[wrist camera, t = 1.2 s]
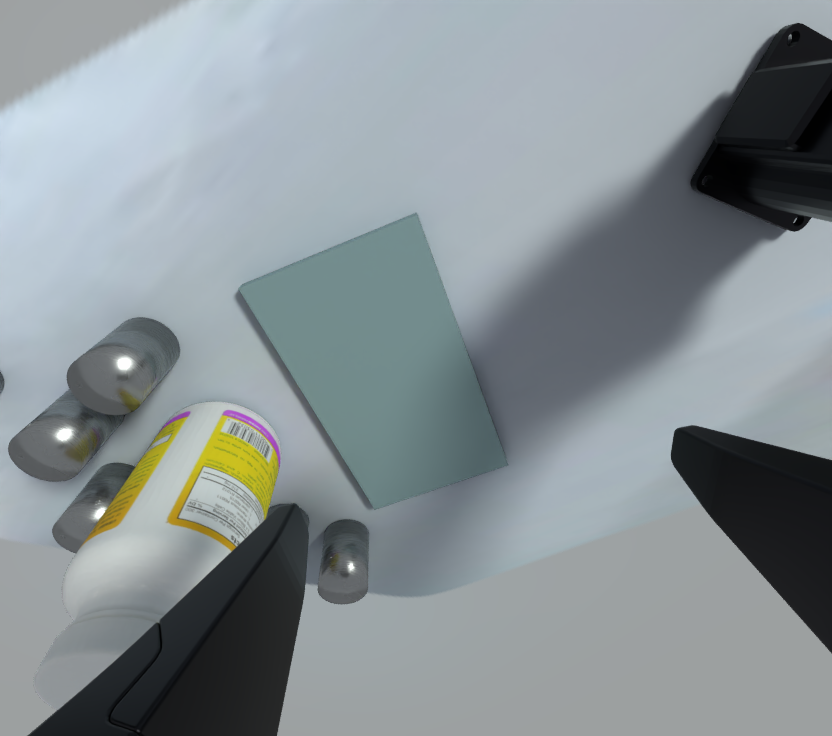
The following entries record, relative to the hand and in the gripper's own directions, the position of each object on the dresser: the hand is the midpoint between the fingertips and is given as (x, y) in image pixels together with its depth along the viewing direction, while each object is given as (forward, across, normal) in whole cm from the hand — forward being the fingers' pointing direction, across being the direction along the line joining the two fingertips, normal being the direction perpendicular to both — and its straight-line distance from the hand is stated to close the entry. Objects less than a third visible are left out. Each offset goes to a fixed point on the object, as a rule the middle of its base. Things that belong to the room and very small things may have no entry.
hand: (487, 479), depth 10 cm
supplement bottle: (+14, -13, -7) cm, 20 cm away
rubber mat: (+13, -3, -5) cm, 15 cm away
